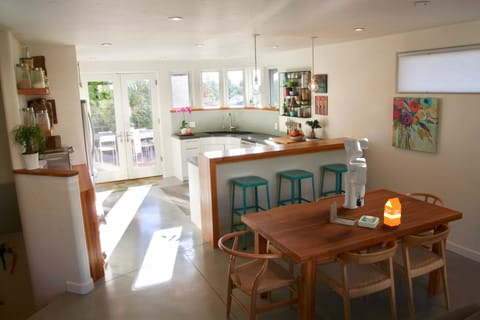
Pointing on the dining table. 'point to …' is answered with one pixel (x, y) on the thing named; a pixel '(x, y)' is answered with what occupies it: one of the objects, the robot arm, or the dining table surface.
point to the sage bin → (365, 224)
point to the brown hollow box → (339, 219)
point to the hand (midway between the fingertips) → (359, 205)
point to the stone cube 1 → (369, 219)
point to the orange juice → (392, 212)
